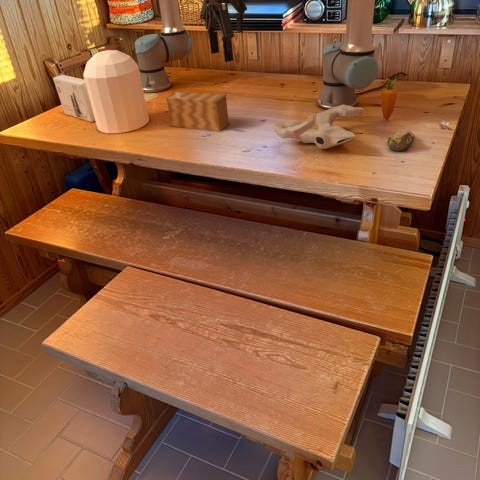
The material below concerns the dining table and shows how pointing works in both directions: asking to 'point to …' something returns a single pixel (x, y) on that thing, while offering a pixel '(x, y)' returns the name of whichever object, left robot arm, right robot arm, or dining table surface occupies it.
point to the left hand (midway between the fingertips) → (226, 35)
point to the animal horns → (320, 128)
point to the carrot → (388, 99)
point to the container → (115, 92)
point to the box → (198, 110)
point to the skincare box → (74, 97)
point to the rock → (400, 140)
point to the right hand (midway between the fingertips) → (221, 57)
